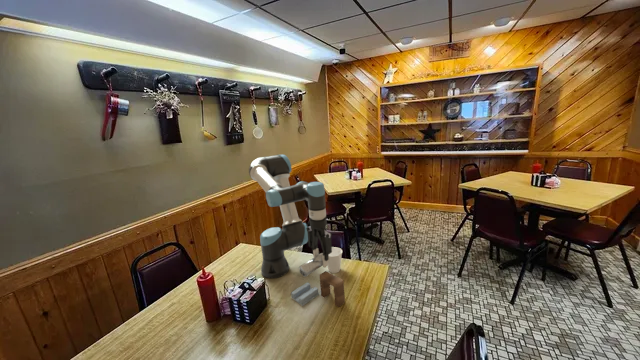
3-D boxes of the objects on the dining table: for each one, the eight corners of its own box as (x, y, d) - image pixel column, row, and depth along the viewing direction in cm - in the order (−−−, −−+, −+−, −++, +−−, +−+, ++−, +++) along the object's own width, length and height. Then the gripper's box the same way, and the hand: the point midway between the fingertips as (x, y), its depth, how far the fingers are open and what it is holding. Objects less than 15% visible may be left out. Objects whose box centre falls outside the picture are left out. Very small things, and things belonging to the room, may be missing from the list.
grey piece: (307, 278, 108) (306, 268, 107) (299, 273, 111) (299, 263, 110) (327, 264, 117) (327, 255, 116) (319, 260, 120) (319, 251, 119)
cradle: (291, 297, 117) (290, 292, 116) (307, 287, 123) (307, 281, 123) (302, 306, 111) (301, 300, 110) (318, 294, 118) (318, 288, 117)
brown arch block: (321, 295, 117) (319, 274, 114) (327, 291, 119) (325, 270, 117) (338, 307, 109) (337, 284, 106) (344, 302, 111) (343, 280, 109)
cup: (343, 264, 140) (342, 246, 138) (343, 275, 131) (342, 256, 128) (325, 265, 141) (324, 247, 139) (324, 275, 132) (322, 256, 129)
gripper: (297, 215, 115) (301, 260, 121) (327, 225, 103) (330, 275, 109) (309, 210, 120) (312, 254, 126) (339, 219, 108) (341, 267, 114)
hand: (321, 263), depth 117 cm, fingers closed on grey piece, 5 cm apart
